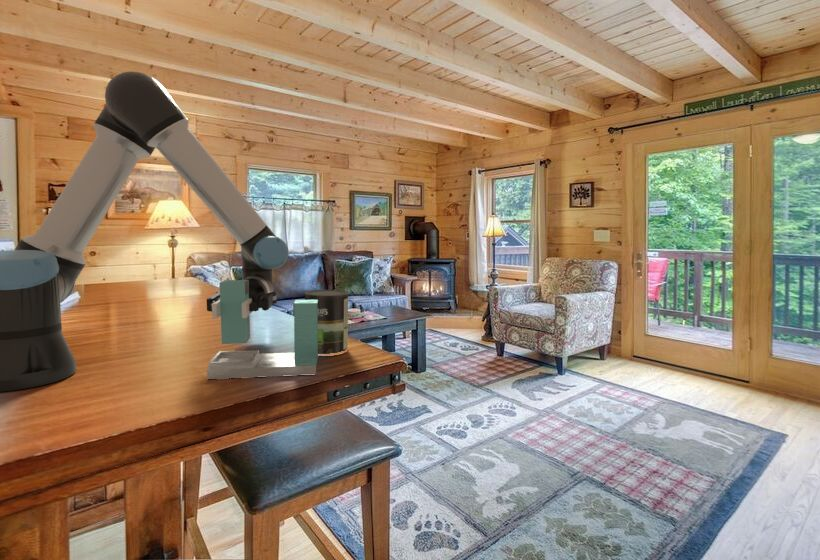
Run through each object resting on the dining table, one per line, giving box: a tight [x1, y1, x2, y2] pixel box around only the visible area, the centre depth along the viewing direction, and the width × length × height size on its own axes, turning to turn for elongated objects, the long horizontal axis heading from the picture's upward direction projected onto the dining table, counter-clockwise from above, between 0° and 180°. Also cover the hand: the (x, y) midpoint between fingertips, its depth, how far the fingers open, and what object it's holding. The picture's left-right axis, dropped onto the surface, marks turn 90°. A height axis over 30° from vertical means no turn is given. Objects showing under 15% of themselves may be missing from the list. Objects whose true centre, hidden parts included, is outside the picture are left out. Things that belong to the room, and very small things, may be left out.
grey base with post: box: [206, 299, 319, 380], centre depth 87 cm, size 20×10×14 cm, turn 101°
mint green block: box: [219, 279, 251, 345], centre depth 86 cm, size 4×4×12 cm
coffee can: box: [303, 289, 350, 354], centre depth 102 cm, size 10×10×14 cm
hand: (229, 311), depth 81 cm, fingers closed on mint green block, 4 cm apart
